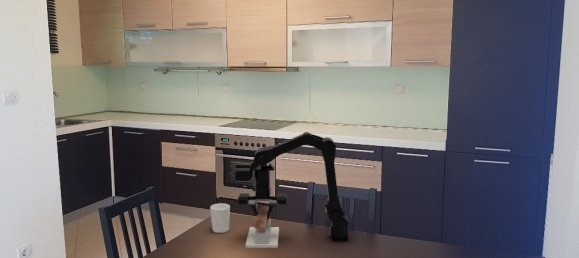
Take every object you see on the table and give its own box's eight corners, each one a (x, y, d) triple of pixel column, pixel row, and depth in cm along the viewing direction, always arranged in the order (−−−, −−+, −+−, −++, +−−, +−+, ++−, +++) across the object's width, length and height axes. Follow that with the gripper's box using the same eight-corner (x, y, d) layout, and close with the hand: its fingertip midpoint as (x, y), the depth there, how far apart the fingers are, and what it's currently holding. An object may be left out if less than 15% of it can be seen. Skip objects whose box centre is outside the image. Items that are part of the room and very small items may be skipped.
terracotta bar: (270, 216, 189) (269, 206, 189) (264, 229, 174) (264, 219, 174) (261, 215, 190) (261, 206, 189) (255, 229, 175) (255, 219, 174)
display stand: (279, 229, 192) (279, 217, 191) (277, 247, 174) (277, 234, 173) (250, 229, 192) (249, 217, 191) (245, 247, 174) (245, 234, 173)
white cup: (220, 235, 186) (220, 211, 185) (207, 230, 191) (206, 207, 189) (234, 229, 192) (233, 205, 191) (220, 224, 197) (220, 202, 196)
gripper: (287, 175, 187) (287, 212, 190) (240, 175, 187) (241, 212, 190) (286, 183, 176) (286, 222, 179) (237, 183, 176) (238, 222, 179)
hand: (263, 219), depth 182 cm, fingers closed on terracotta bar, 4 cm apart
